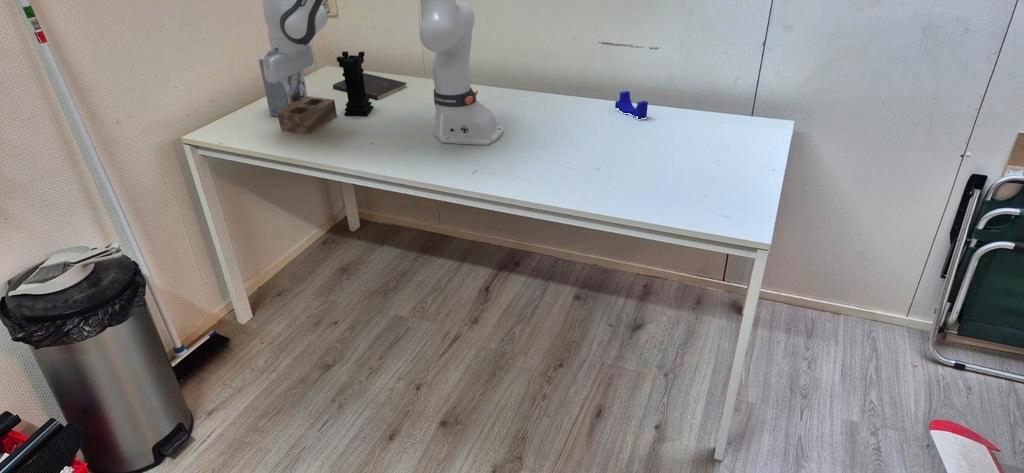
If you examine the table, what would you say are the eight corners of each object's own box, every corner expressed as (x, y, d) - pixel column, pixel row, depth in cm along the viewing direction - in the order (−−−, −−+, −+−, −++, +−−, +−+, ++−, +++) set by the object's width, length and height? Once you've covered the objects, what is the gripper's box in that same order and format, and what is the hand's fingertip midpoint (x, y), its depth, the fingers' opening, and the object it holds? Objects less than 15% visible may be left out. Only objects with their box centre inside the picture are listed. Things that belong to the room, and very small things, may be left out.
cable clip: (615, 109, 225) (616, 93, 221) (626, 107, 226) (627, 90, 223) (634, 121, 215) (636, 104, 212) (646, 119, 217) (647, 102, 214)
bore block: (337, 116, 223) (334, 99, 220) (309, 134, 211) (305, 117, 208) (310, 112, 227) (306, 96, 224) (281, 130, 214) (277, 113, 211)
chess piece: (373, 107, 230) (365, 51, 219) (367, 116, 223) (358, 58, 212) (351, 107, 230) (342, 50, 220) (344, 116, 224) (334, 58, 213)
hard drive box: (290, 117, 223) (278, 60, 213) (269, 116, 224) (256, 59, 214) (309, 101, 236) (299, 46, 226) (289, 100, 237) (278, 45, 227)
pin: (303, 98, 211) (298, 68, 206) (296, 102, 209) (291, 71, 203) (294, 97, 213) (288, 66, 207) (287, 100, 210) (281, 70, 204)
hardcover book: (363, 78, 258) (362, 72, 257) (407, 88, 247) (406, 82, 246) (333, 90, 247) (332, 84, 246) (377, 101, 236) (376, 95, 235)
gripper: (272, 54, 192) (281, 99, 199) (313, 36, 208) (320, 78, 215) (254, 52, 194) (264, 97, 201) (296, 34, 210) (304, 76, 217)
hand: (293, 87), depth 208 cm, fingers closed on pin, 4 cm apart
